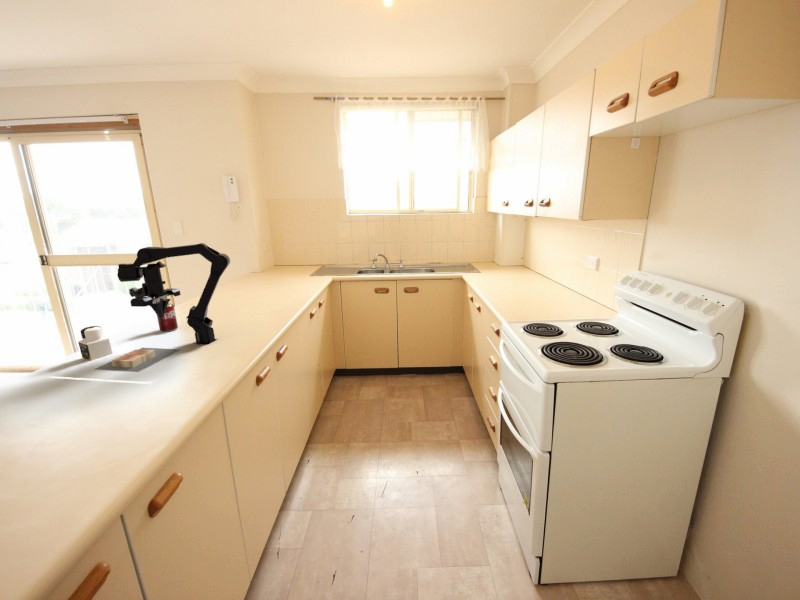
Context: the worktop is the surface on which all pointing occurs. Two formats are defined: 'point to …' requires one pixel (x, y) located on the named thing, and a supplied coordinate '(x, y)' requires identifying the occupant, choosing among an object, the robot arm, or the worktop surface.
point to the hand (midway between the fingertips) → (161, 317)
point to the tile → (133, 358)
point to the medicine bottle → (94, 343)
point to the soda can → (168, 319)
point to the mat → (159, 356)
